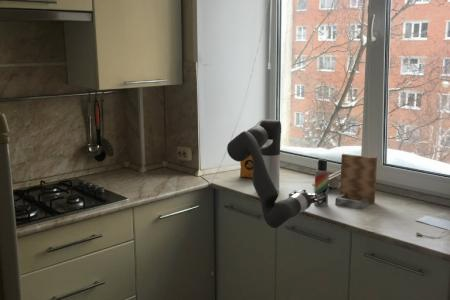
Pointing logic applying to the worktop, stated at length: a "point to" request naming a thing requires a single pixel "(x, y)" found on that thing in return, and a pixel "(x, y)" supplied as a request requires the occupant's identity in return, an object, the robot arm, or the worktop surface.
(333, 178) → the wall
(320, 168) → the lotion bottle
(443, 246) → the worktop surface
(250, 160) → the coffee package
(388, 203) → the worktop surface
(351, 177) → the cleat board
